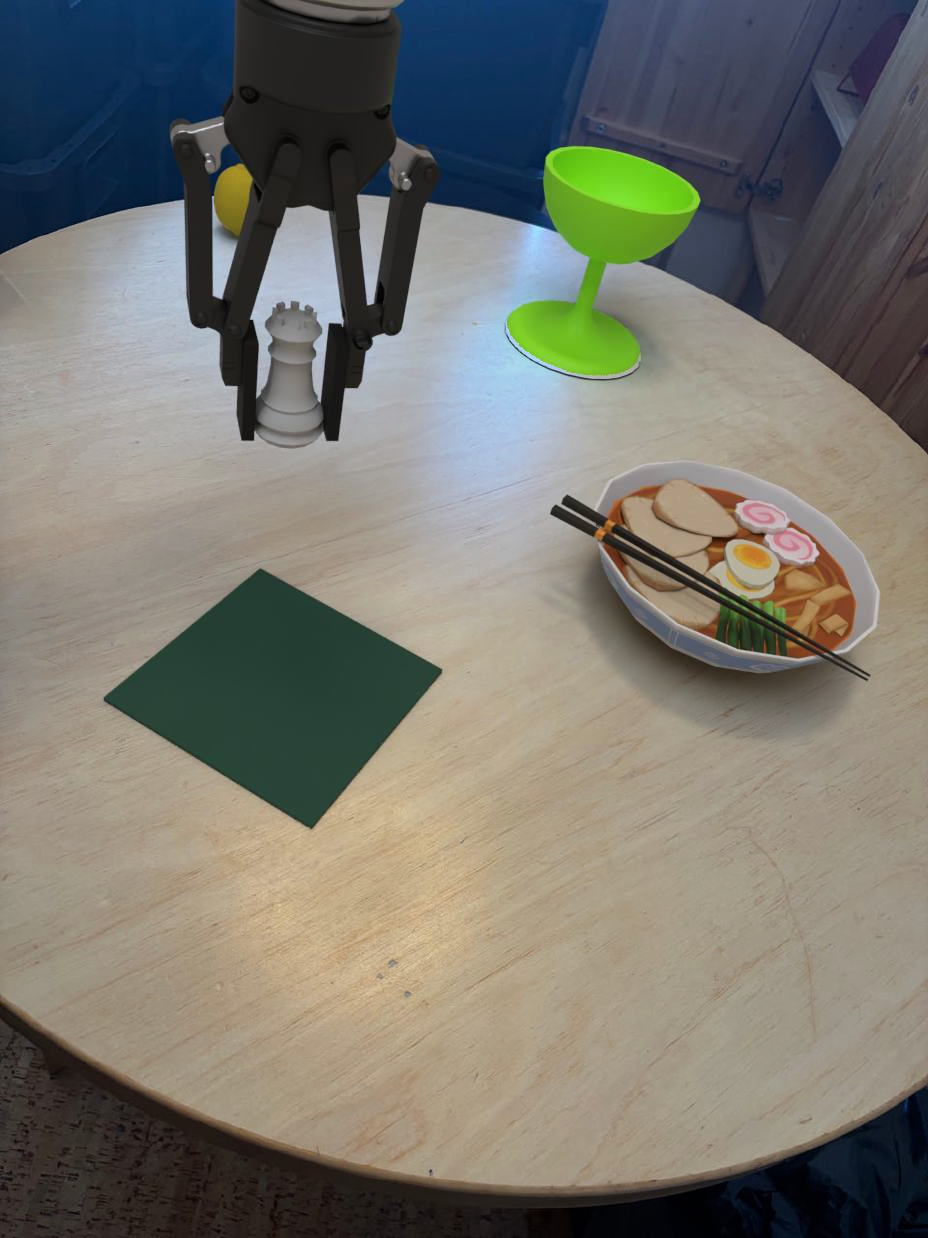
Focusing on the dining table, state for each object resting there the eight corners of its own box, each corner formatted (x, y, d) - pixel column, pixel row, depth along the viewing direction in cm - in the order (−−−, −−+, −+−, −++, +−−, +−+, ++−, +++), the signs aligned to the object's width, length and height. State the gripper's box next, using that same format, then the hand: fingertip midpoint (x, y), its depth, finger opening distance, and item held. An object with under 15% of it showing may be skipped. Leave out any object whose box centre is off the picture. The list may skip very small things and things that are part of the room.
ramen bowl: (880, 624, 82) (931, 553, 76) (795, 789, 67) (851, 716, 61) (630, 487, 89) (660, 413, 83) (502, 608, 74) (528, 527, 68)
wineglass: (640, 394, 101) (702, 229, 89) (495, 356, 101) (537, 185, 89) (642, 327, 113) (698, 172, 101) (513, 292, 113) (552, 133, 100)
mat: (103, 700, 60) (103, 697, 60) (259, 570, 71) (260, 567, 71) (311, 829, 57) (311, 826, 56) (441, 672, 68) (442, 669, 68)
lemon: (246, 222, 112) (249, 152, 106) (271, 243, 109) (276, 172, 104) (204, 227, 109) (204, 155, 103) (228, 249, 106) (230, 176, 100)
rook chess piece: (275, 459, 57) (281, 338, 51) (236, 420, 59) (239, 299, 53) (337, 440, 59) (350, 323, 54) (298, 403, 61) (306, 287, 56)
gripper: (118, -13, 38) (141, 465, 54) (526, 48, 43) (436, 464, 59) (113, -60, 42) (136, 391, 59) (480, 0, 48) (409, 396, 64)
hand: (287, 427), depth 59 cm, fingers closed on rook chess piece, 4 cm apart
